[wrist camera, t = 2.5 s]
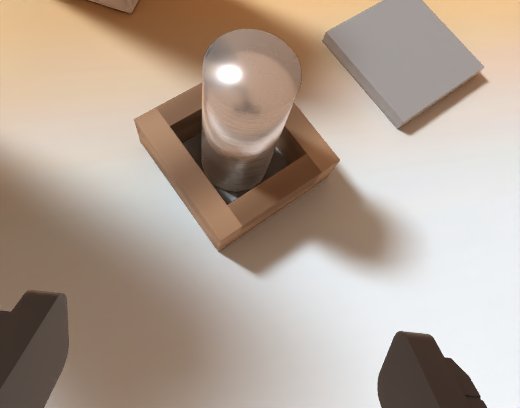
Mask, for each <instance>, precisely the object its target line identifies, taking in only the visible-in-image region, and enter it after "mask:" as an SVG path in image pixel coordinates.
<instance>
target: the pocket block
mask: <svg viewBox="0 0 520 408" xmlns="http://www.w3.org/2000/svg"><path fill="white" fill-rule="evenodd" d="M134 121H135V124H136V128H137V131H138V135H139V138H140V141H141V143H142V144H143V146H144V147H145V149H146V150H147V152H148V153H149V154H150V156H151V157H152V159H153V160H154V161H155V163H156V164H157V166H158V167H159V169H160V170H161V171H162V173H163V174H164V176H165V177H166V178H167V180H168V181H169V183H170V184H171V185H172V187H173V188H174V190H175V191H176V193H177V194H178V195H179V197H180V198H181V200H182V201H183V202H184V204H185V205H186V207H187V208H188V209H189V211H190V212H191V214H192V215H193V217H194V218H195V219H196V221H197V222H198V224H199V225H200V226H201V228H202V229H203V231H204V232H205V233H206V235H207V236H208V238H209V239H210V241H211V242H212V243H213V245H214V246H215V248H216V249H217V250H218V252H219V251H220V250H221V249H223V248H224V247H226V246H227V245H229V244H230V243H232V242H233V241H235V240H236V239H238V238H239V237H240V236H242V235H243V234H245V233H246V232H248V231H249V230H251V229H252V228H254V227H255V226H257V225H258V224H259V223H261V222H262V221H264V220H265V219H267V218H268V217H270V216H271V215H273V214H274V213H276V212H277V211H278V210H280V209H281V208H283V207H284V206H286V205H287V204H289V203H290V202H292V201H293V200H295V199H296V198H297V197H299V196H300V195H302V194H303V193H305V192H306V191H308V190H309V189H311V188H312V187H314V186H315V185H316V184H318V183H319V182H321V181H322V180H324V179H325V178H327V176H328V175H329V174H330V172H331V171H332V170H333V168H334V167H335V166H336V165H337V163H338V162H339V161H340V159H339V158H338V157H337V156H336V154H335V153H334V152H333V151H332V149H331V148H330V147H329V146H328V144H327V143H326V142H325V141H324V139H323V138H322V137H321V136H320V135H319V133H318V132H317V131H316V130H315V128H314V127H313V126H312V125H311V123H310V122H309V121H308V120H307V118H306V117H305V116H304V115H303V113H302V112H301V111H300V110H299V109H298V107H297V106H296V105H295V104H294V103H293V105H292V108H291V110H290V113H289V115H288V118H287V120H286V123H285V126H284V128H283V131H282V133H281V136H280V138H279V141H278V143H277V146H276V147H277V148H278V149H279V150H280V152H281V153H282V154H283V156H284V157H285V158H286V159H287V161H288V162H289V163H290V165H288V166H287V167H285V168H284V169H282V170H281V171H279V172H277V173H276V174H274V175H273V176H271V177H270V178H268V179H267V180H265V181H264V182H262V183H261V184H259V185H257V186H256V187H254V188H253V189H251V190H250V191H248V192H247V193H245V194H244V195H242V196H241V197H239V198H237V199H236V200H234V201H233V202H231V203H230V204H228V205H227V204H226V203H225V202H224V200H223V199H222V197H221V196H220V195H219V193H218V192H217V191H216V189H215V188H214V187H213V185H212V184H211V182H210V181H209V180H208V178H207V177H206V176H205V174H204V173H203V171H202V170H201V169H200V167H199V166H198V165H197V163H196V162H195V161H194V159H193V158H192V156H191V155H190V154H189V152H188V151H187V150H186V148H185V147H184V145H183V144H182V142H184V141H186V140H187V139H189V138H191V137H193V136H194V135H196V134H198V133H200V132H201V131H202V83H201V84H199V85H197V86H195V87H193V88H191V89H190V90H188V91H186V92H184V93H182V94H180V95H178V96H176V97H175V98H173V99H171V100H169V101H167V102H165V103H163V104H161V105H160V106H158V107H156V108H154V109H152V110H150V111H148V112H147V113H145V114H143V115H141V116H139V117H137V118H135V119H134Z"/></svg>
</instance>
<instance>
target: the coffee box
mask: <svg viewBox="0 0 520 408" xmlns="http://www.w3.org/2000/svg"><path fill="white" fill-rule="evenodd" d="M89 1H92V2H96V3H99V4H102V5H105V6H108V7H111V8H114V9H117V10H120V11H124V12H127V13H132V12H133V10H134V8H135V6H136V4H137V2H138V0H89Z"/></svg>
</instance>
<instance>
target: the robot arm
mask: <svg viewBox="0 0 520 408" xmlns="http://www.w3.org/2000/svg"><path fill="white" fill-rule="evenodd" d="M68 346H69V338H68V318H67V300H66V296H65V294H62V293H53V292H43V291H34V290H29V291H27V292H26V293H25V294H24V295H23V297H22V298H21V299H20V301H19V302H18V304H17V305H16V306H15V308H14V309H13V310H12V312H7V311H0V408H44V406H45V404H46V402H47V400H48V398H49V396H50V394H51V392H52V390H53V388H54V386H55V384H56V382H57V380H58V378H59V376H60V374H61V372H62V370H63V367H64V364H65V361H66V358H67V353H68ZM378 397H379V401H380V404H381V407H382V408H487V407H486V405H485V403H484V401H483V400H481V399H480V397H481V396H480V395H479V393H478V391H477V389H476V388H475V386H474V384H473V383H472V381H471V379H470V377H469V376H468V375H467V374H466V373H465V372H464V371H463V370H462V369H461V368H460V367H459V366H458V365H457V364H456V363H455V362H454V361H453V360H452V359H451V358H444V356H443V354H442V352H441V351H440V349H439V347H438V345H437V343H436V341H435V340H434V338H433V337H432V336H431V335H429V334H422V333H413V332H404V331H399V332H397V333H396V334H395V336H394V338H393V341H392V343H391V346H390V348H389V351H388V353H387V356H386V358H385V361H384V363H383V365H382V368H381V370H380V373H379V377H378Z"/></svg>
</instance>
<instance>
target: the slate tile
mask: <svg viewBox="0 0 520 408" xmlns="http://www.w3.org/2000/svg"><path fill="white" fill-rule="evenodd" d="M323 42H324V43H325V45H326V46H327V47H328V48H329V49H330V50H331V52H332V53H333V54H334V55H335V56H336V57H337V59H338V60H339V61H340V62H341V63H342V64H343V66H344V67H345V68H346V69H347V70H348V72H349V73H350V74H351V75H352V76H353V77H354V79H355V80H356V81H357V82H358V83H359V84H360V86H361V87H362V88H363V89H364V90H365V91H366V93H367V94H368V95H369V96H370V97H371V98H372V100H373V101H374V102H375V103H376V104H377V105H378V107H379V108H380V109H381V110H382V111H383V112H384V114H385V115H386V116H387V117H388V118H389V119H390V121H391V122H392V123H393V124H394V125H395V127H396V128H397V129H398V128H400V127H401V126H403V125H404V124H406V123H407V122H409V121H410V120H411V119H413V118H414V117H416V116H417V115H419V114H420V113H422V112H423V111H425V110H426V109H428V108H429V107H430V106H432V105H433V104H435V103H436V102H438V101H439V100H441V99H442V98H444V97H445V96H447V95H448V94H449V93H451V92H452V91H454V90H455V89H457V88H458V87H460V86H461V85H463V84H464V83H466V82H467V81H468V80H470V79H471V78H473V77H474V76H476V75H477V74H478V73H479V72H480V71H481V70H482V69H483V68H484V66H483V65H482V64H481V63H480V62H479V61H478V60H477V59H476V57H475V56H474V55H473V54H472V53H471V52H470V51H469V50H468V49H467V48H466V47H465V46H464V45H463V44H462V43H461V41H460V40H459V39H458V38H457V37H456V36H455V35H454V34H453V33H452V32H451V31H450V30H449V29H448V28H447V26H446V25H445V24H444V23H443V22H442V21H441V20H440V19H439V18H438V17H437V16H436V15H435V14H434V13H433V11H432V10H431V9H430V8H429V7H428V6H427V5H426V4H425V3H424V2H423V1H422V0H383V1H381V2H380V3H378V4H376V5H374V6H372V7H370V8H369V9H367V10H365V11H363V12H361V13H360V14H358V15H356V16H354V17H352V18H350V19H349V20H347V21H345V22H343V23H341V24H339V25H338V26H336V27H334V28H332V29H330V30H329V31H327V32H326V33H325V36H324V38H323Z"/></svg>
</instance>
